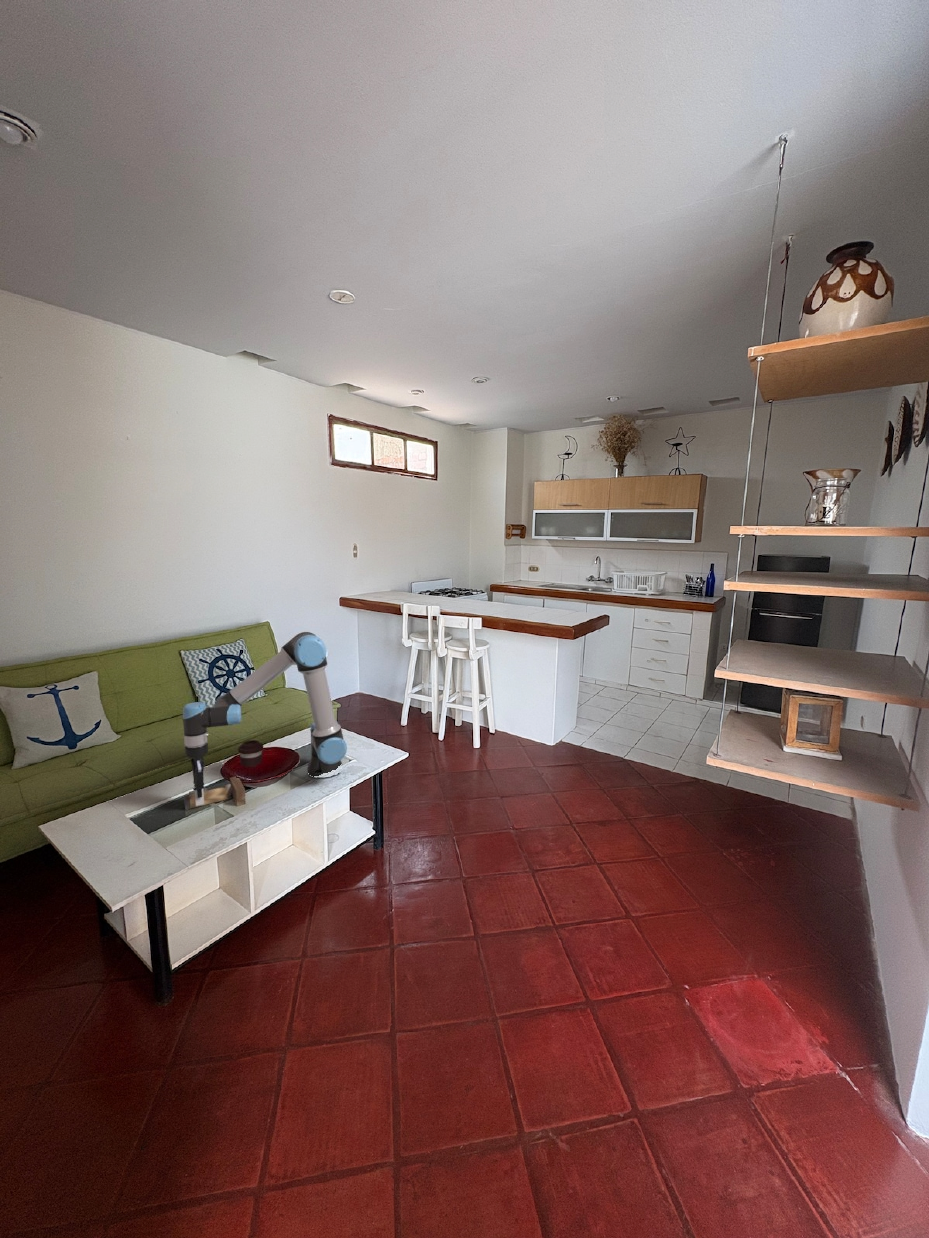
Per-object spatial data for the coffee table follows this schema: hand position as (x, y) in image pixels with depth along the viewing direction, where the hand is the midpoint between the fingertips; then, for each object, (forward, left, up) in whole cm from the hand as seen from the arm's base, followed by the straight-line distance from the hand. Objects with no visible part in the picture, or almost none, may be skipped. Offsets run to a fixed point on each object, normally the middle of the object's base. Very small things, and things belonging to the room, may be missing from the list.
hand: (199, 804), depth 186 cm
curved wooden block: (-13, 0, -1) cm, 13 cm away
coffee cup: (-22, -18, -2) cm, 29 cm away
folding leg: (-3, -2, -1) cm, 4 cm away
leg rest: (0, -6, -1) cm, 6 cm away
